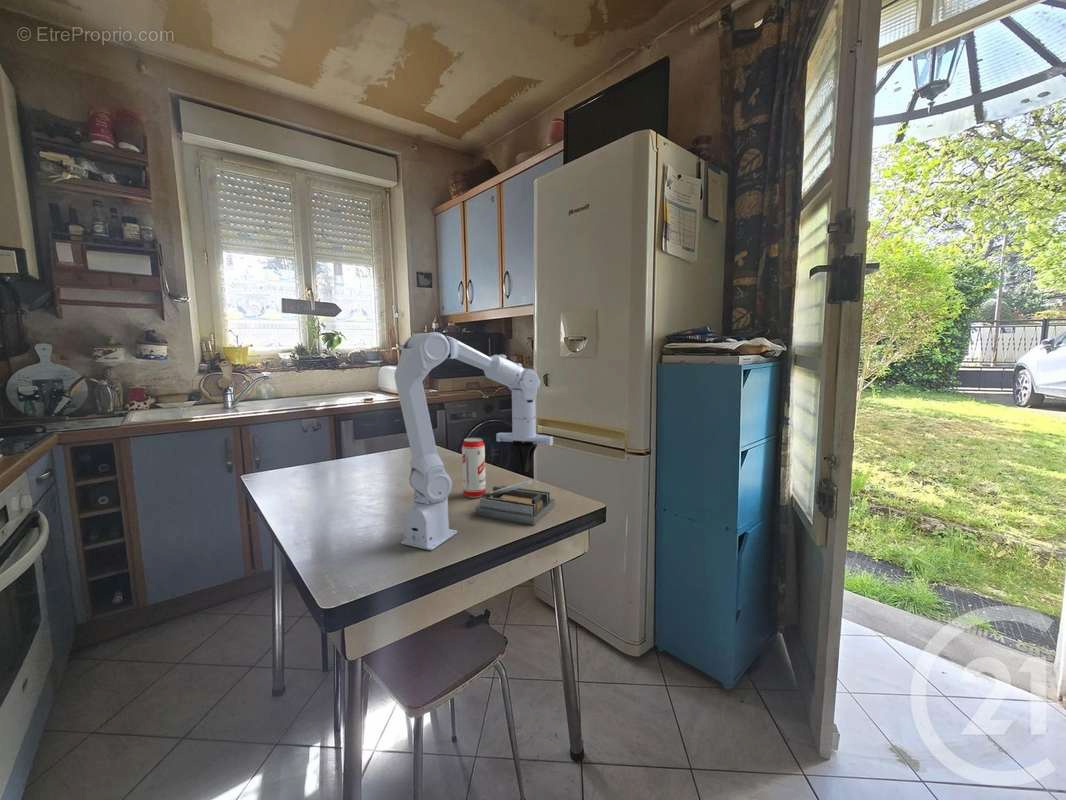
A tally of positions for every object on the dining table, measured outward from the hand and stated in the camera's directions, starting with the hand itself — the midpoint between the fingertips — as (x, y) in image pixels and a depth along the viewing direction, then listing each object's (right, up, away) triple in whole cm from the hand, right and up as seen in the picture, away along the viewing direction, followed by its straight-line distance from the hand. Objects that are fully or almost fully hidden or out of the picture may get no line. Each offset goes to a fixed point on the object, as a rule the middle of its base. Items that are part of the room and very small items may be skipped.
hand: (524, 471), depth 106 cm
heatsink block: (-2, -10, +2) cm, 11 cm away
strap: (-4, -5, +2) cm, 7 cm away
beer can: (-14, -9, +14) cm, 22 cm away
